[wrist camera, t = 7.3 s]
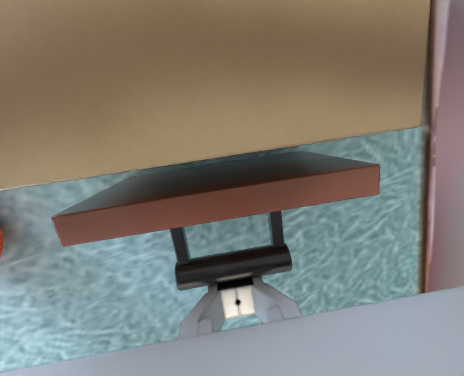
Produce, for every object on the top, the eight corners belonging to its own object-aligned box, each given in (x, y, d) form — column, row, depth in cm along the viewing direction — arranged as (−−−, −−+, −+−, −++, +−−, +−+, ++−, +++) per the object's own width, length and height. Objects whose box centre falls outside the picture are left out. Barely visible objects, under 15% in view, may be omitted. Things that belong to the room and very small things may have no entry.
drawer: (306, 225, 17) (377, 293, 9) (149, 252, 16) (98, 346, 9) (288, -83, 12) (398, -408, 5) (66, -60, 11) (-182, -387, 4)
